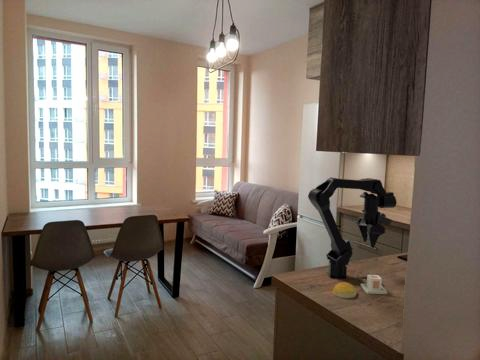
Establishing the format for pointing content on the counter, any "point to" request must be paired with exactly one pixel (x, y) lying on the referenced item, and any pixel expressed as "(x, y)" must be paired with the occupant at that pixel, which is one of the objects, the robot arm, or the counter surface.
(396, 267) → the counter surface
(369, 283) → the letter block
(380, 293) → the green tray
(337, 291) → the bread roll
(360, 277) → the walnut tray
